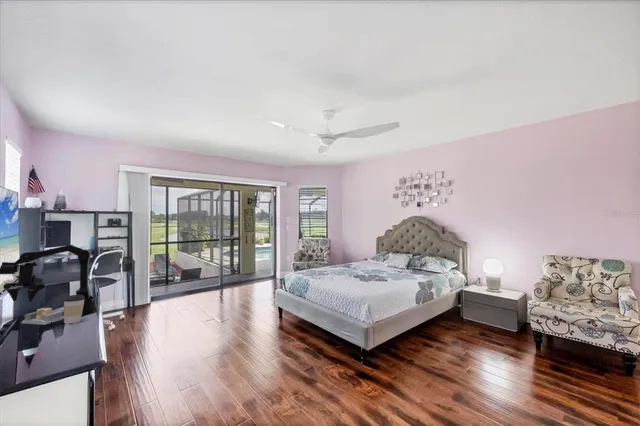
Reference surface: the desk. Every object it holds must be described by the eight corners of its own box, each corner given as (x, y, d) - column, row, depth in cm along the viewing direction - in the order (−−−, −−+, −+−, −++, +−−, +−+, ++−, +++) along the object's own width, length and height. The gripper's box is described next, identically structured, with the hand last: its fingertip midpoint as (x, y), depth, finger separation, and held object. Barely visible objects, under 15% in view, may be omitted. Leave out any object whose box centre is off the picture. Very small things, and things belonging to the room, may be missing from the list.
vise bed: (64, 318, 162) (65, 310, 163) (45, 324, 151) (46, 316, 152) (42, 317, 163) (43, 309, 163) (21, 323, 152) (22, 315, 152)
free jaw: (44, 316, 162) (44, 310, 162) (29, 320, 154) (29, 314, 154) (37, 315, 162) (37, 310, 162) (21, 319, 154) (22, 314, 154)
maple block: (51, 317, 159) (52, 308, 159) (44, 319, 155) (45, 309, 156) (42, 317, 159) (43, 307, 160) (36, 319, 156) (37, 309, 156)
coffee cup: (58, 322, 155) (61, 295, 156) (78, 318, 163) (80, 292, 164) (65, 325, 151) (68, 297, 152) (86, 321, 159) (88, 294, 160)
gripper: (55, 272, 168) (52, 298, 166) (25, 271, 168) (22, 297, 167) (36, 275, 156) (32, 303, 155) (4, 273, 157) (0, 301, 156)
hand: (22, 301), depth 158 cm, fingers open, 9 cm apart
